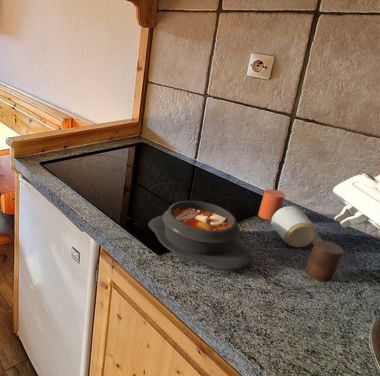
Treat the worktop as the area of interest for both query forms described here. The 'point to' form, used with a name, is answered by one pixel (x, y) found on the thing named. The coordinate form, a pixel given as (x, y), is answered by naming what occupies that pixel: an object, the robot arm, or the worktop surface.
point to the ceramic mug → (294, 227)
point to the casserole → (202, 234)
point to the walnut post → (323, 260)
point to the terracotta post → (271, 203)
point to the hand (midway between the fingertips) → (338, 223)
